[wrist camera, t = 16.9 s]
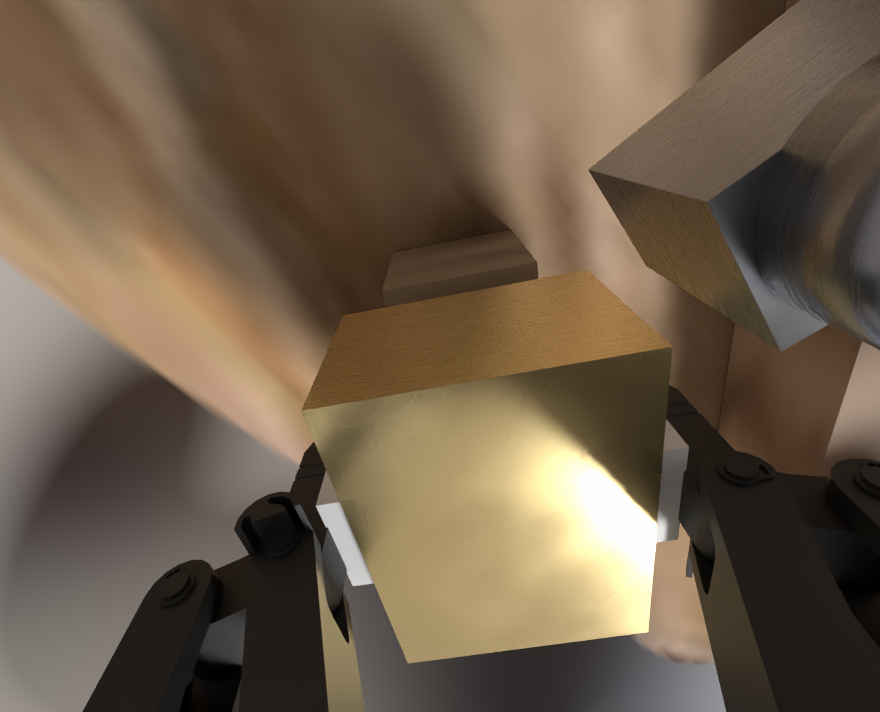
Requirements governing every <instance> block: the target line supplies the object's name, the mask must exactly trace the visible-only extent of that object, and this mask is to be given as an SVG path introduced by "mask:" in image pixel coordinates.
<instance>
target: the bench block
mask: <svg viewBox="0 0 880 712" xmlns="http://www.w3.org/2000/svg"><path fill="white" fill-rule="evenodd" d="M535 279H538V269H537V261H536V260H535V259H534V258H533V256H532V255H531V254H530V253H529V251H528V250H527V249H526V248H525V247H524V245H523V244H522V243H521V242H520V240H519V239H518V238H517V237H516V235H515V234H514V233H513V232H512V230H511V229H510V230H505V231H500V232H495V233H490V234H485V235H479V236H474V237H469V238H464V239H459V240H454V241H449V242H444V243H438V244H433V245H428V246H423V247H418V248H413V249H408V250H403V251H398V252H392V256H391V259H390V263H389V267H388V270H387V274H386V278H385V281H384V285H383V289H382V294H383V298H384V301H385V305H386V307H391V306H396V305H402V304H407V303H412V302H418V301H423V300H428V299H434V298H439V297H444V296H450V295H455V294H460V293H466V292H471V291H476V290H482V289H487V288H493V287H498V286H503V285H509V284H514V283H519V282H525V281H530V280H535Z"/></svg>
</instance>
